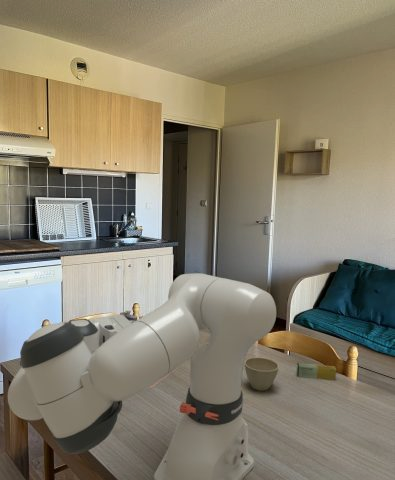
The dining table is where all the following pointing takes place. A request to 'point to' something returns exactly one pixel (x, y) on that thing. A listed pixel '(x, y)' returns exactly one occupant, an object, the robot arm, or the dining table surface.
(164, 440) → the dining table surface
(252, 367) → the flower pot
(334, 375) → the medication box
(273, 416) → the dining table surface
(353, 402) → the dining table surface
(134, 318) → the flask
